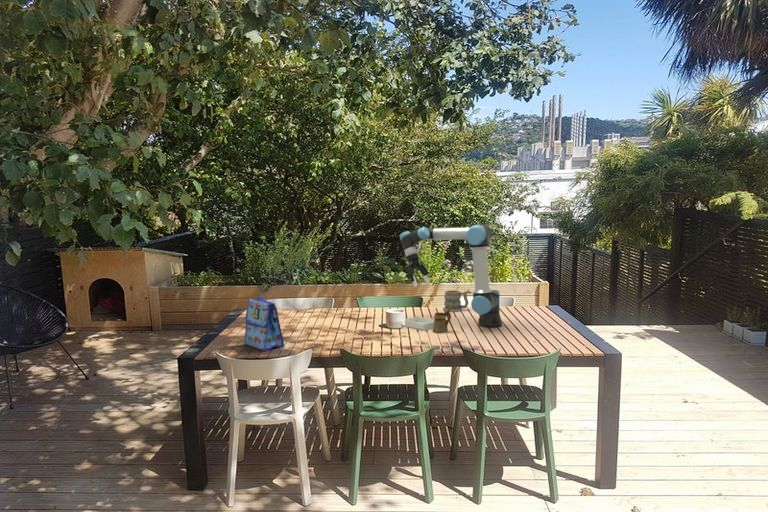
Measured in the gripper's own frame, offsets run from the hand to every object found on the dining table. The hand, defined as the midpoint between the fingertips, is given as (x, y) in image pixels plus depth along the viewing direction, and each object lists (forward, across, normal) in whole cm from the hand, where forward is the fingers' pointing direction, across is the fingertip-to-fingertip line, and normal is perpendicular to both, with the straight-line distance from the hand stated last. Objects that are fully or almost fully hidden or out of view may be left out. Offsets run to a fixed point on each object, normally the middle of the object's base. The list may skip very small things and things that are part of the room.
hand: (422, 285), depth 343 cm
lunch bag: (+10, +89, -55) cm, 105 cm away
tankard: (+17, -54, -16) cm, 59 cm away
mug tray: (+24, 0, -11) cm, 26 cm away
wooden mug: (+32, +3, +6) cm, 33 cm away
